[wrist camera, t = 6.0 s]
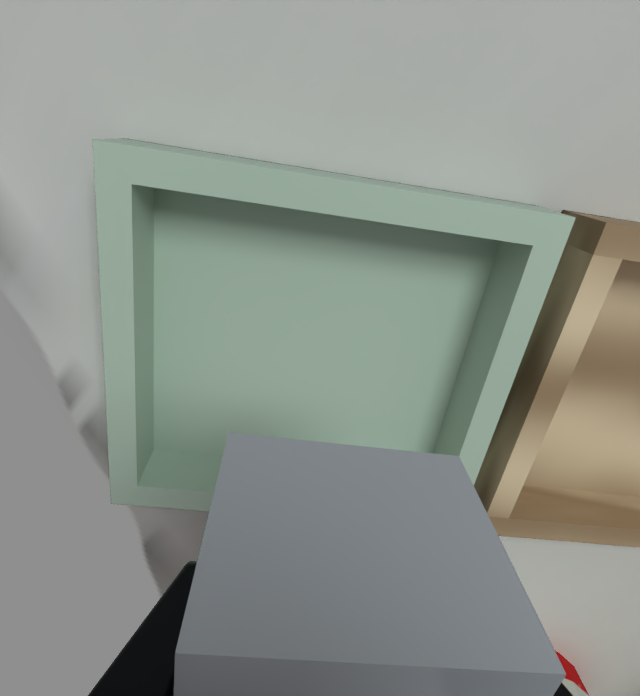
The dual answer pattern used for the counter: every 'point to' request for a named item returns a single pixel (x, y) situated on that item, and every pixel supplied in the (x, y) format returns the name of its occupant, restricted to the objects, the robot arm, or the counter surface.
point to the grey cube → (355, 581)
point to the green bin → (302, 312)
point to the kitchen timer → (572, 678)
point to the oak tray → (575, 401)
